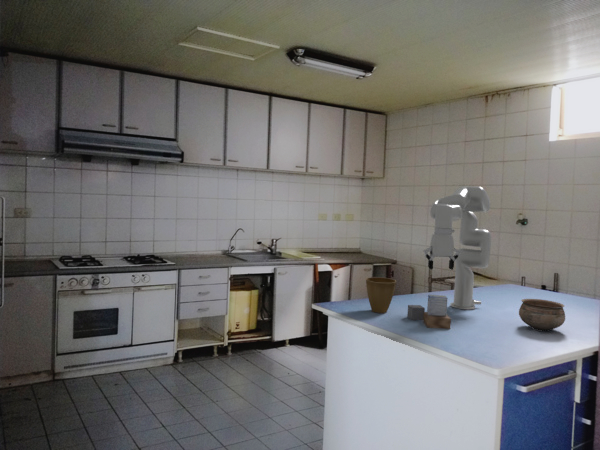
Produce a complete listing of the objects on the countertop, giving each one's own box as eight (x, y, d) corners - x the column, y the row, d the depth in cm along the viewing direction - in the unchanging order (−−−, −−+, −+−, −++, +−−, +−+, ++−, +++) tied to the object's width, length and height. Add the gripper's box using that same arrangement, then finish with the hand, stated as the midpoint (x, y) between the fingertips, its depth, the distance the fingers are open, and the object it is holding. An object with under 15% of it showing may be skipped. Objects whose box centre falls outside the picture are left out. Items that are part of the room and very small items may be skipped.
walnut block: (444, 323, 222) (445, 313, 221) (450, 329, 212) (451, 318, 211) (423, 322, 222) (423, 311, 222) (427, 328, 212) (427, 317, 212)
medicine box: (444, 314, 219) (445, 295, 218) (446, 316, 215) (447, 297, 214) (426, 313, 220) (428, 294, 219) (428, 315, 215) (429, 296, 215)
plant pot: (358, 308, 243) (360, 277, 242) (384, 307, 248) (386, 276, 247) (373, 315, 229) (375, 282, 228) (400, 314, 234) (402, 282, 234)
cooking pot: (528, 320, 234) (530, 296, 234) (571, 329, 221) (573, 303, 220) (508, 329, 216) (510, 302, 216) (554, 339, 203) (556, 310, 203)
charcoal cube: (419, 317, 231) (420, 305, 230) (423, 320, 225) (424, 308, 225) (407, 317, 230) (408, 304, 230) (411, 320, 224) (412, 307, 224)
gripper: (457, 231, 224) (455, 267, 225) (421, 230, 222) (419, 267, 223) (464, 233, 217) (462, 270, 218) (427, 232, 214) (425, 270, 216)
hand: (440, 269), depth 221 cm, fingers open, 9 cm apart
